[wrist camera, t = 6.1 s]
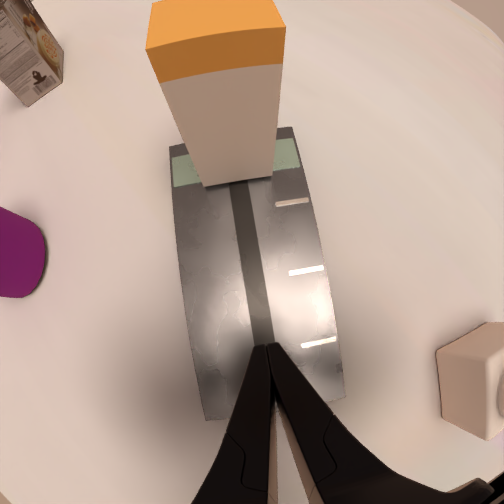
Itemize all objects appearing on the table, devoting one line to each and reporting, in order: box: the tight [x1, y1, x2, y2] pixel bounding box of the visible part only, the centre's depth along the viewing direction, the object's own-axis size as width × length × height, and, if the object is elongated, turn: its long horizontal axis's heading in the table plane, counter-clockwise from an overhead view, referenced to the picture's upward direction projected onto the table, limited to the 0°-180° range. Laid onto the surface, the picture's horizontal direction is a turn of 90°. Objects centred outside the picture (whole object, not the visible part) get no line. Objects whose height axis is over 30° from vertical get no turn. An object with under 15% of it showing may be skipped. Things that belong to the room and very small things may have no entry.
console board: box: [169, 127, 346, 421], centre depth 21 cm, size 21×10×2 cm, turn 9°
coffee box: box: [0, 0, 63, 107], centre depth 19 cm, size 9×6×16 cm
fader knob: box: [145, 0, 286, 187], centre depth 15 cm, size 4×5×13 cm
